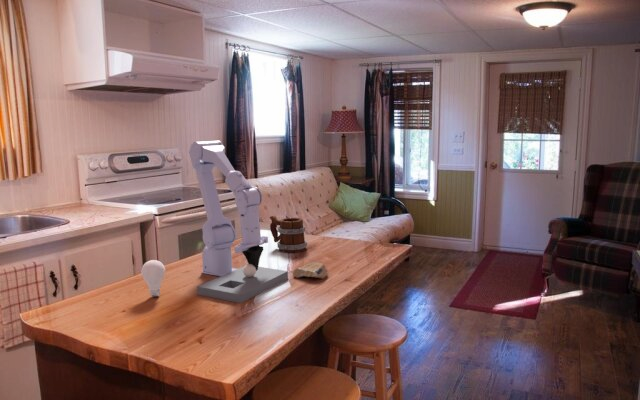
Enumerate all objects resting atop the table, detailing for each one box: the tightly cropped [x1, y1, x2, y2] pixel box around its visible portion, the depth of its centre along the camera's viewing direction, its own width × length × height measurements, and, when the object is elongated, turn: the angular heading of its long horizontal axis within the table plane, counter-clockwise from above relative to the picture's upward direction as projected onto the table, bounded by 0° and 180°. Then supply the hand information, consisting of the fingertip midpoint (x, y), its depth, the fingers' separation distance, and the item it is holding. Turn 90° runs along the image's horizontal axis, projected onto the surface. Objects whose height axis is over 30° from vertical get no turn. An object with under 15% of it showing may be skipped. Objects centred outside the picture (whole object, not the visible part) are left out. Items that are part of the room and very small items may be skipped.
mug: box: [269, 215, 308, 254], centre depth 198 cm, size 12×14×15 cm
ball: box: [243, 263, 256, 277], centre depth 157 cm, size 4×4×4 cm
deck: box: [196, 265, 289, 304], centre depth 156 cm, size 16×24×2 cm, turn 150°
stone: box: [292, 261, 329, 280], centre depth 164 cm, size 8×10×4 cm
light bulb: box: [140, 259, 166, 298], centre depth 148 cm, size 7×7×11 cm
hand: (253, 270), depth 158 cm, fingers closed, pressing on ball
